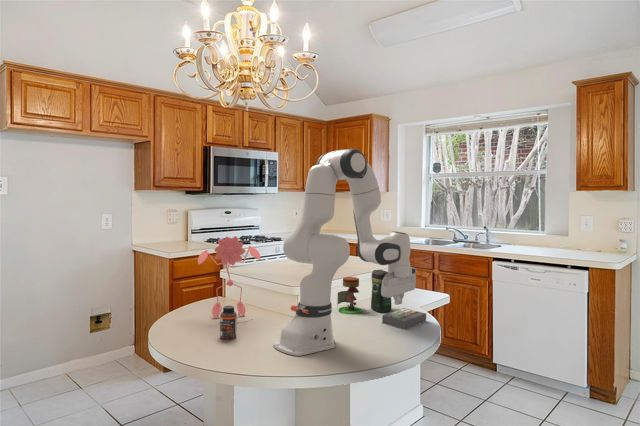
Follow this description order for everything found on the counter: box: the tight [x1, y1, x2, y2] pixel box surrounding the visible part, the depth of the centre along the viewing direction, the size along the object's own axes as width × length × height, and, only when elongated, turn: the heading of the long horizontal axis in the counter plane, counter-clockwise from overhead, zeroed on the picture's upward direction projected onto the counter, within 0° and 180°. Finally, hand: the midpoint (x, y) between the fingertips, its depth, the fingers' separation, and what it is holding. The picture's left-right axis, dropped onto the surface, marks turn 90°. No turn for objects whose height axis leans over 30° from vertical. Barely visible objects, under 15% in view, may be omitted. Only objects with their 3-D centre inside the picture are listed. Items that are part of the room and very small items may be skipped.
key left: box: [391, 310, 404, 319], centre depth 176 cm, size 4×4×3 cm
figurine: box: [197, 235, 261, 325], centre depth 179 cm, size 15×26×35 cm, turn 105°
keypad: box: [381, 307, 427, 330], centre depth 179 cm, size 16×11×3 cm
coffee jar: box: [370, 269, 392, 313], centre depth 197 cm, size 10×8×19 cm
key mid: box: [398, 308, 411, 316], centre depth 179 cm, size 4×4×3 cm
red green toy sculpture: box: [336, 276, 363, 315], centre depth 196 cm, size 12×13×15 cm
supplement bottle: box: [219, 305, 238, 340], centre depth 158 cm, size 6×6×11 cm
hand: (398, 304), depth 176 cm, fingers closed
